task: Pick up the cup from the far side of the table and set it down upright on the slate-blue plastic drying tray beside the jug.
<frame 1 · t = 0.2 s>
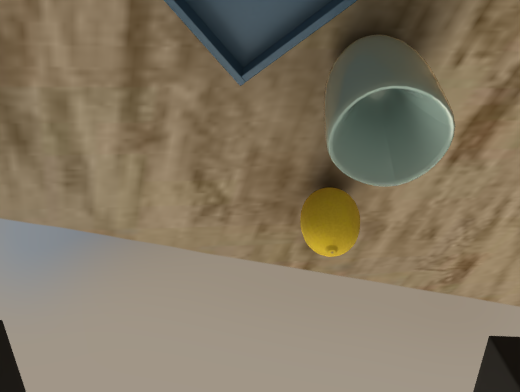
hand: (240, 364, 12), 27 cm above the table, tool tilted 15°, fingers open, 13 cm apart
lemon: (328, 191, 44), on the table
cup: (371, 68, 35), on the table
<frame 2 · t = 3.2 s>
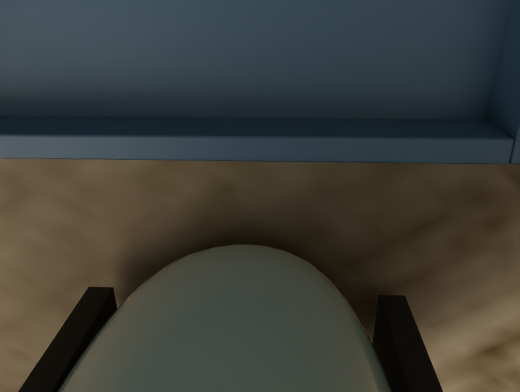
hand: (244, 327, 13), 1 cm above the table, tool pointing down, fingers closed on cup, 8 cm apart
cup: (247, 307, 14), on the table, touching gripper
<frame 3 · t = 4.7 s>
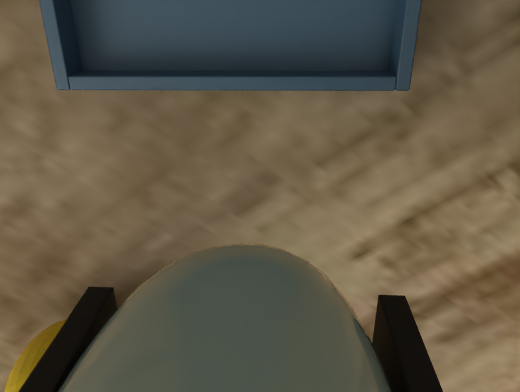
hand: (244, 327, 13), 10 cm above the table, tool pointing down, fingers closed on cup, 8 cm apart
lemon: (99, 323, 27), on the table
cup: (247, 307, 14), point 9 cm above the table, touching gripper
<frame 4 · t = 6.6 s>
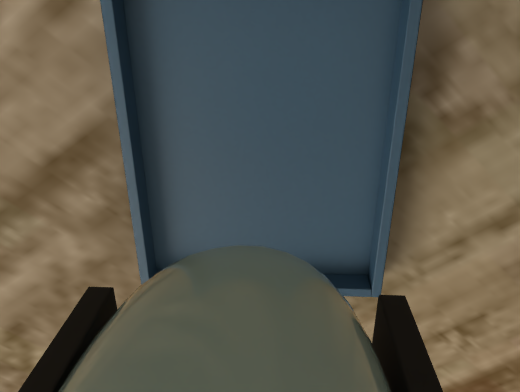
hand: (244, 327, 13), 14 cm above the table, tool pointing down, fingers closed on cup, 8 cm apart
drying tray: (260, 147, 25), on the table
cup: (247, 308, 14), point 13 cm above the table, touching gripper
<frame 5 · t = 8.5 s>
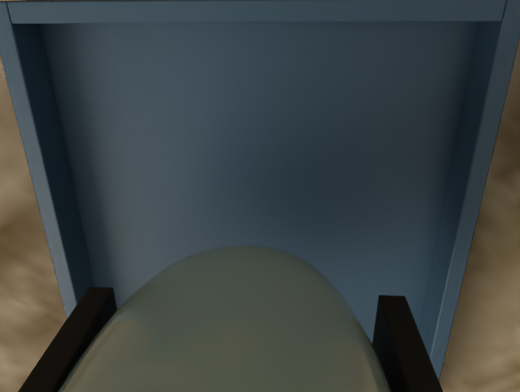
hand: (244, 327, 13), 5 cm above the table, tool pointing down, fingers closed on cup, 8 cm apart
drying tray: (256, 242, 18), on the table
cup: (247, 308, 14), point 4 cm above the table, touching gripper
when the fingers open (1 cm above the table, at t = 9.9 s): cup stays where it is, resting on drying tray.
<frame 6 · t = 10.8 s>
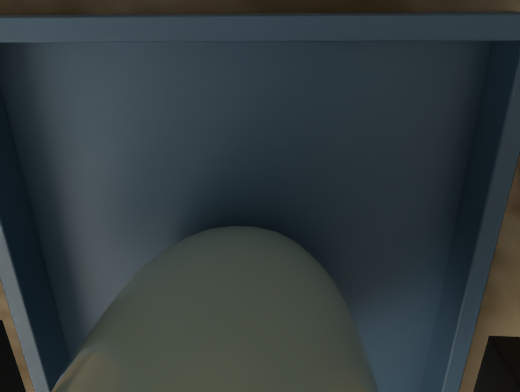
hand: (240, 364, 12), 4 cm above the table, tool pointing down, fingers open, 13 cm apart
drying tray: (243, 282, 16), on the table
cup: (242, 286, 16), resting on drying tray
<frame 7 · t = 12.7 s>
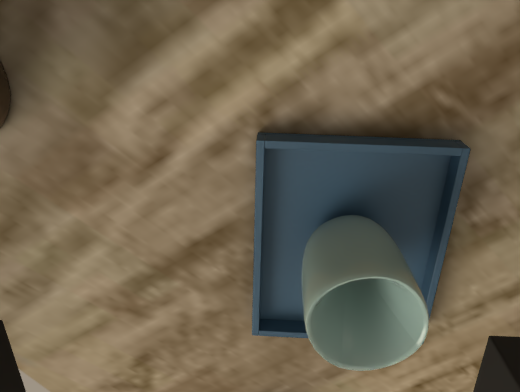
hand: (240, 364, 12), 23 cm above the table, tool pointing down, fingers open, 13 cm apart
drying tray: (345, 240, 36), on the table
cup: (345, 241, 36), resting on drying tray
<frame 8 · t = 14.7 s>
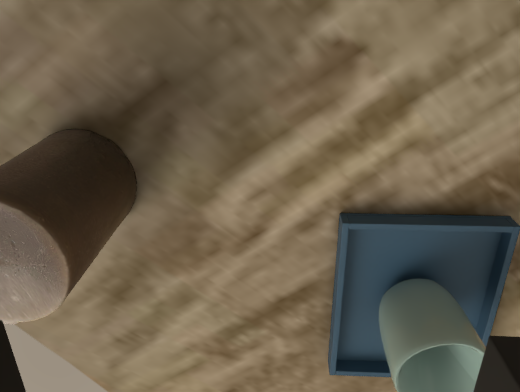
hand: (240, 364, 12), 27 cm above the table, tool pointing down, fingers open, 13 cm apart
drying tray: (410, 295, 43), on the table
pillar candle: (85, 179, 40), on the table
cup: (410, 297, 43), resting on drying tray
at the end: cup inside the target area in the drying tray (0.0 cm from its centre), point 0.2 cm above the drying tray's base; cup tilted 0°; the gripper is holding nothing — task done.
